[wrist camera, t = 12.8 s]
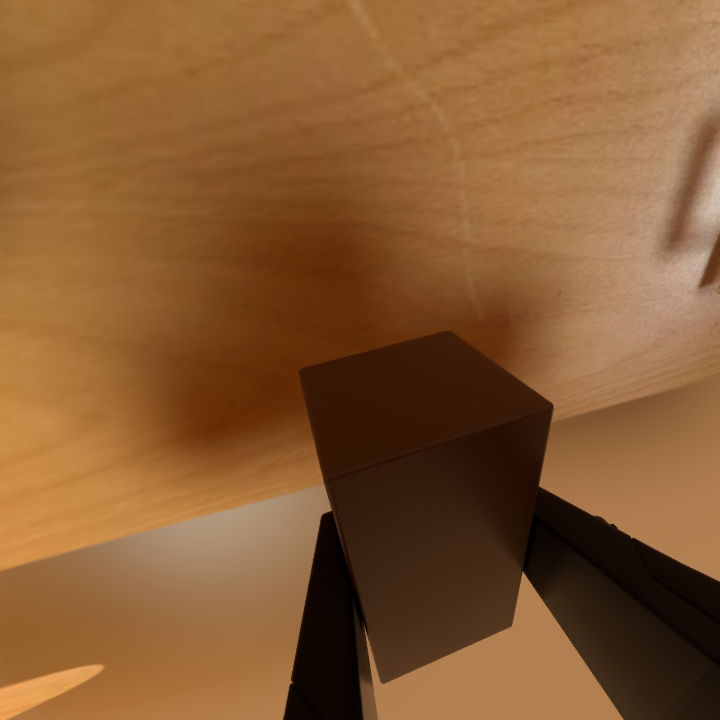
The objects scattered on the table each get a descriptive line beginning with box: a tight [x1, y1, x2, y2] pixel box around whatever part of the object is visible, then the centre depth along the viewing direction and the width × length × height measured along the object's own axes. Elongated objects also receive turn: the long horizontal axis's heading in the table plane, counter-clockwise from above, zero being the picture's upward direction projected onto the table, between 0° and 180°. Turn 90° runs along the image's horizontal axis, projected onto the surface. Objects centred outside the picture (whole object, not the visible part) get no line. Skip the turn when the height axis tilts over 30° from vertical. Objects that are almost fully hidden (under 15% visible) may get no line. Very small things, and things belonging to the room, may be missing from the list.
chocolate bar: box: [298, 330, 554, 684], centre depth 9 cm, size 4×8×4 cm, turn 8°
